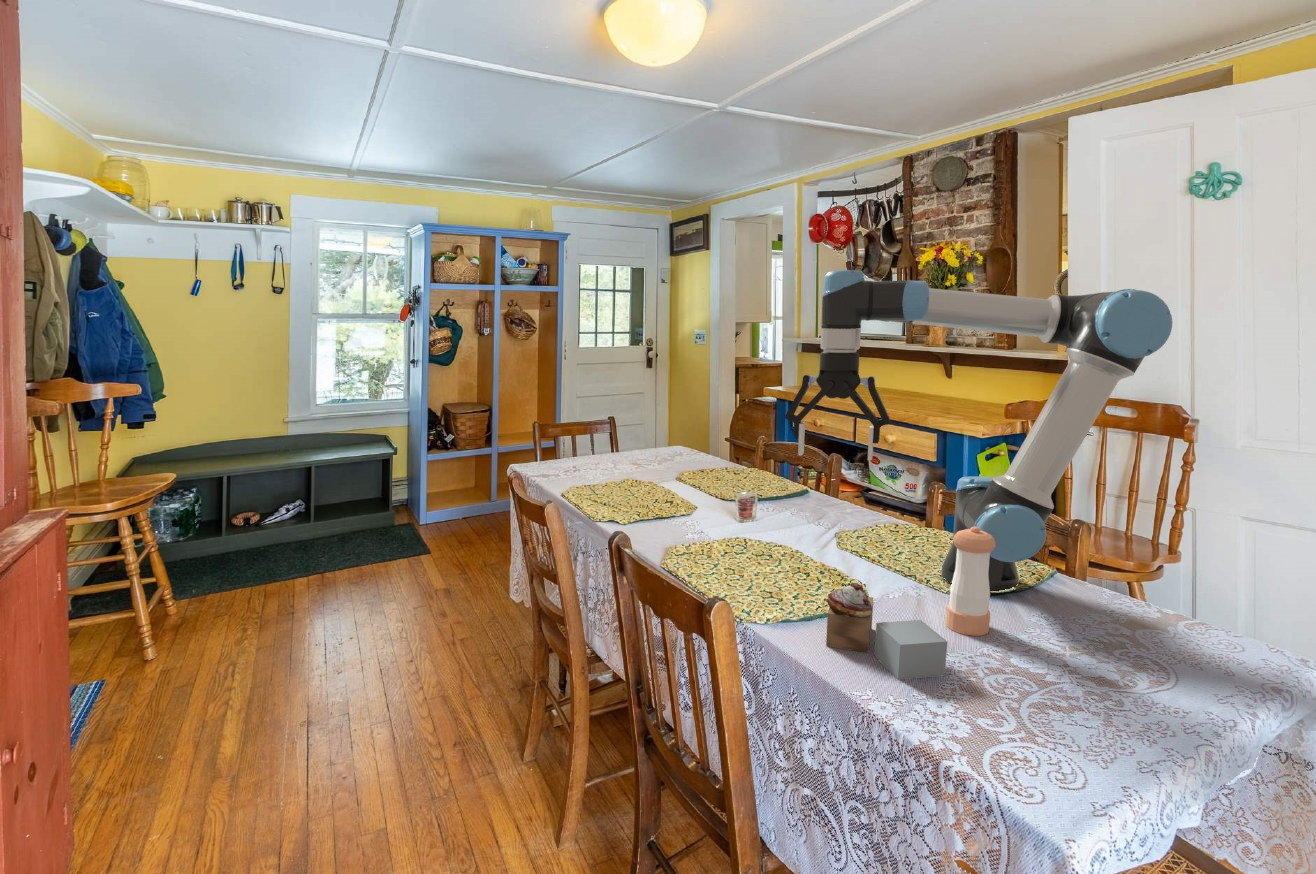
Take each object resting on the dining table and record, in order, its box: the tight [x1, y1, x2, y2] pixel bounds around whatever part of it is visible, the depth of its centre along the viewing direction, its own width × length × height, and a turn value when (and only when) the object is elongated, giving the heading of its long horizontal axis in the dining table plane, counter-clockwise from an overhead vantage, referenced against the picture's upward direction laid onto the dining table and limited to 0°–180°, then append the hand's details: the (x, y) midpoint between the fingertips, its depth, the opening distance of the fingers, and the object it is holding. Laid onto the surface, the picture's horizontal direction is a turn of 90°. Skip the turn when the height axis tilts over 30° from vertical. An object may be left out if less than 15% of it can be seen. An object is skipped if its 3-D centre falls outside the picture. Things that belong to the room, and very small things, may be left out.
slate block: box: [873, 619, 948, 680], centre depth 111 cm, size 8×8×6 cm
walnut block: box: [825, 596, 874, 654], centre depth 121 cm, size 7×10×6 cm
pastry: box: [826, 582, 874, 618], centre depth 118 cm, size 8×8×5 cm
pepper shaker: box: [945, 527, 996, 637], centre depth 124 cm, size 7×7×19 cm
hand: (834, 457), depth 137 cm, fingers open, 13 cm apart
